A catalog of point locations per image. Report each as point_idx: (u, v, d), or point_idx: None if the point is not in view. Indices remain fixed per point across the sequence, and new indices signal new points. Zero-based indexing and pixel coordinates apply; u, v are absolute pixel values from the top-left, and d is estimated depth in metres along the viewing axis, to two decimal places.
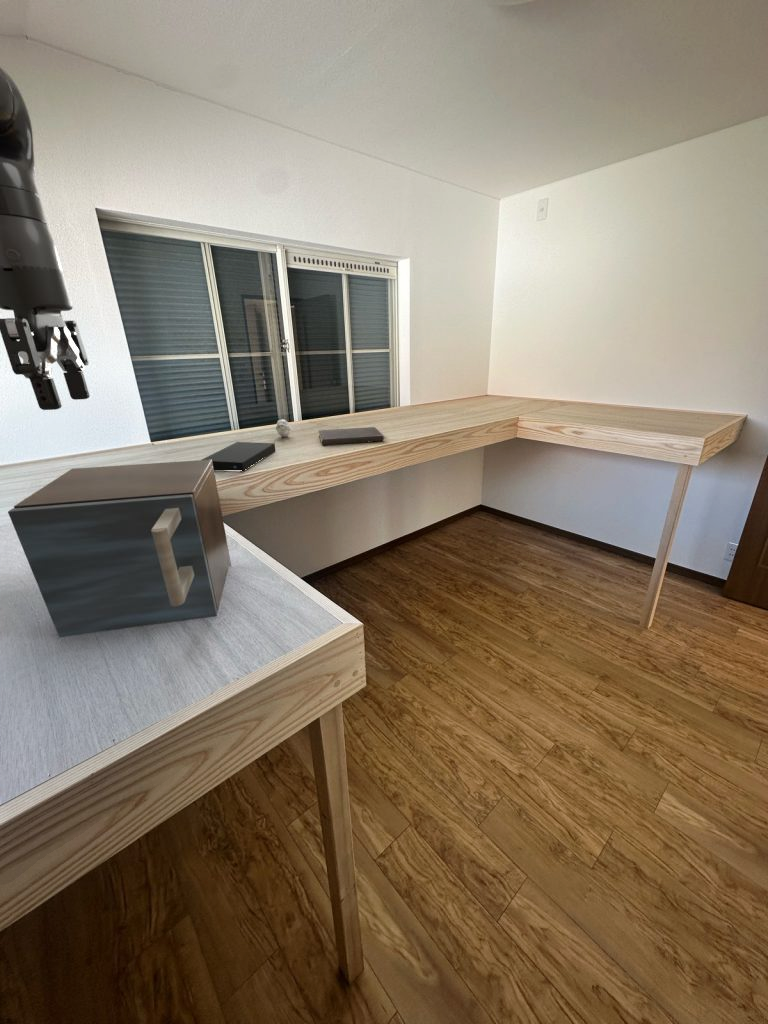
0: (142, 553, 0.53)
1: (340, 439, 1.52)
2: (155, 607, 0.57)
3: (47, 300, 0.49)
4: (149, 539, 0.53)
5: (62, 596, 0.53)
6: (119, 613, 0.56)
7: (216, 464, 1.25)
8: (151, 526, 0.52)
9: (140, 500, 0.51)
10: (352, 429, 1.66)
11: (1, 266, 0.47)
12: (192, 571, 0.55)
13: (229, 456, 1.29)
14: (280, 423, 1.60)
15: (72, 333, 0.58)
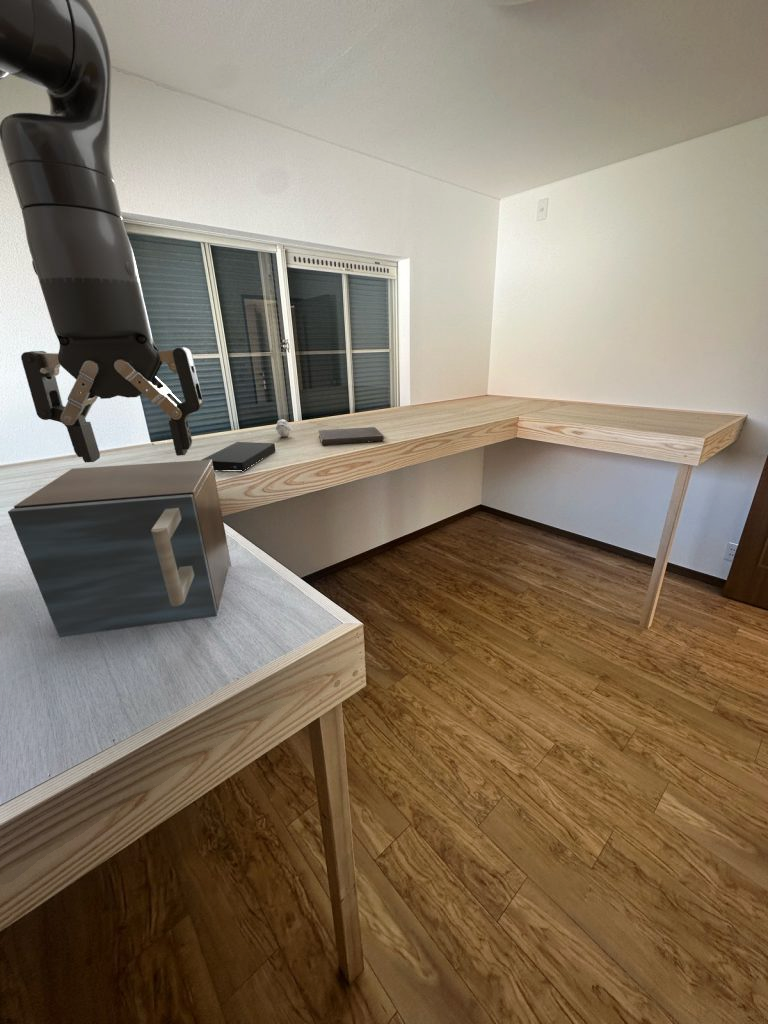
0: (142, 553, 0.53)
1: (340, 439, 1.52)
2: (155, 607, 0.57)
3: (56, 326, 0.35)
4: (149, 539, 0.53)
5: (62, 596, 0.53)
6: (119, 613, 0.56)
7: (216, 464, 1.25)
8: (151, 526, 0.52)
9: (140, 500, 0.51)
10: (352, 429, 1.66)
11: None
12: (192, 571, 0.55)
13: (229, 456, 1.29)
14: (280, 423, 1.60)
15: None
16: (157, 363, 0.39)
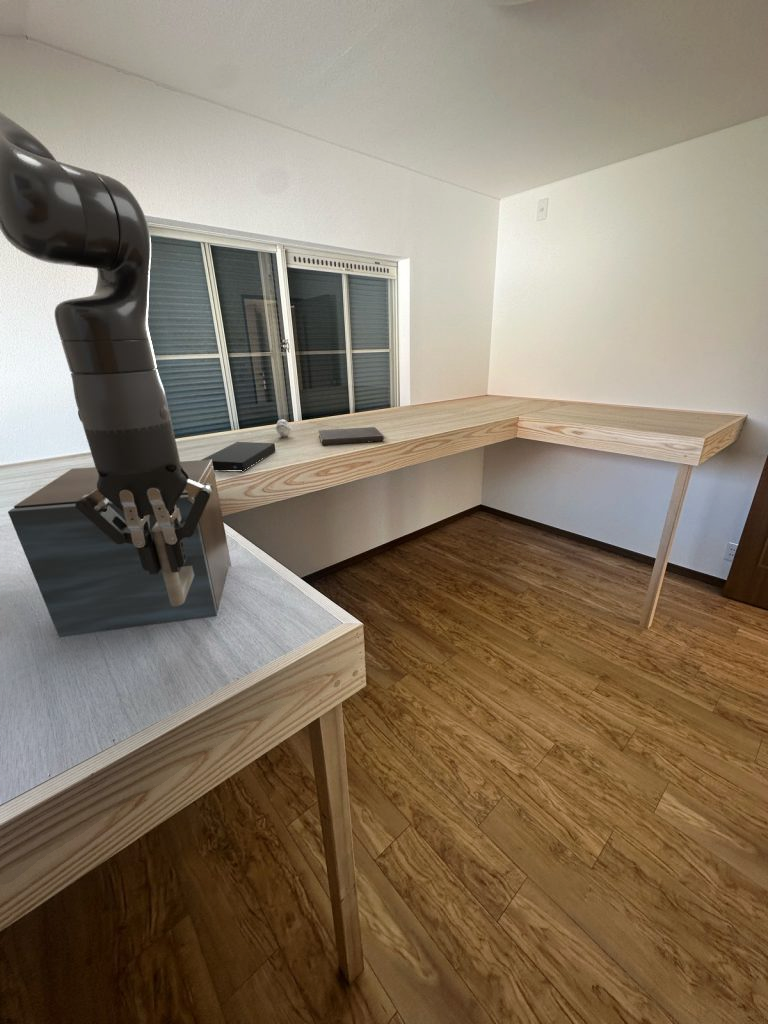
0: None
1: (340, 439, 1.52)
2: (155, 607, 0.57)
3: (97, 465, 0.39)
4: None
5: (62, 596, 0.53)
6: (119, 613, 0.56)
7: (216, 464, 1.25)
8: (151, 526, 0.52)
9: None
10: (352, 429, 1.66)
11: None
12: (192, 571, 0.55)
13: (229, 456, 1.29)
14: (280, 423, 1.60)
15: (191, 499, 0.44)
16: (184, 486, 0.44)
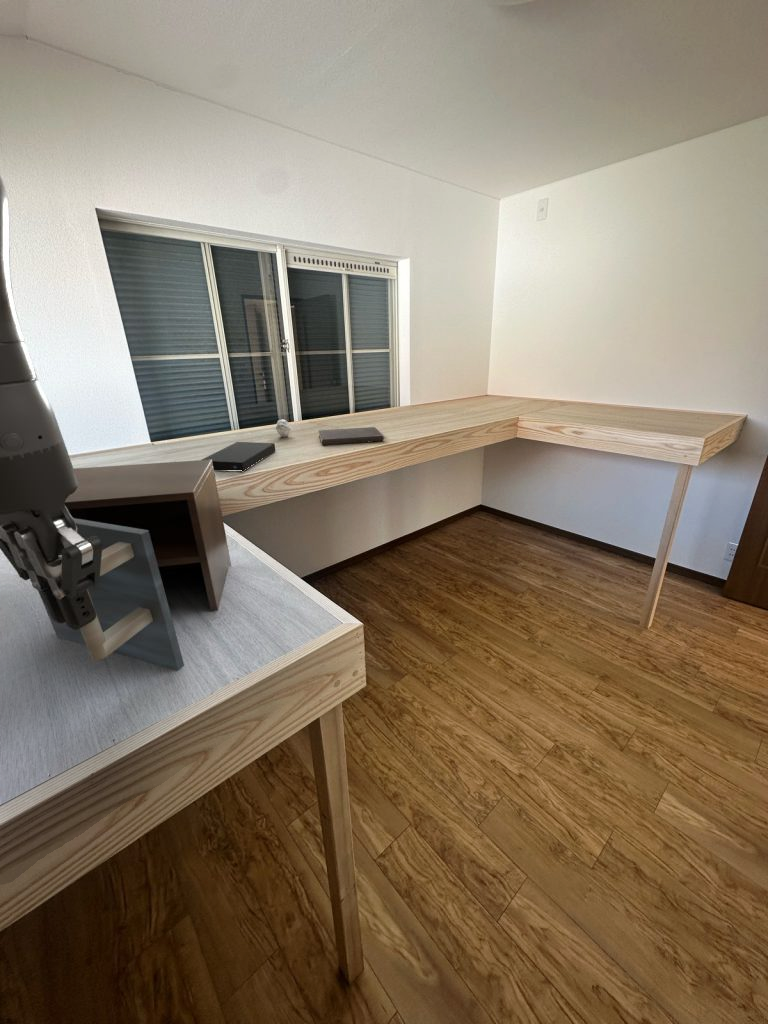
0: (106, 582, 0.47)
1: (340, 439, 1.52)
2: None
3: None
4: (110, 570, 0.46)
5: None
6: None
7: (216, 464, 1.25)
8: None
9: (98, 526, 0.44)
10: (352, 429, 1.66)
11: None
12: (148, 616, 0.47)
13: (229, 456, 1.29)
14: (280, 423, 1.60)
15: (61, 554, 0.33)
16: (54, 537, 0.33)
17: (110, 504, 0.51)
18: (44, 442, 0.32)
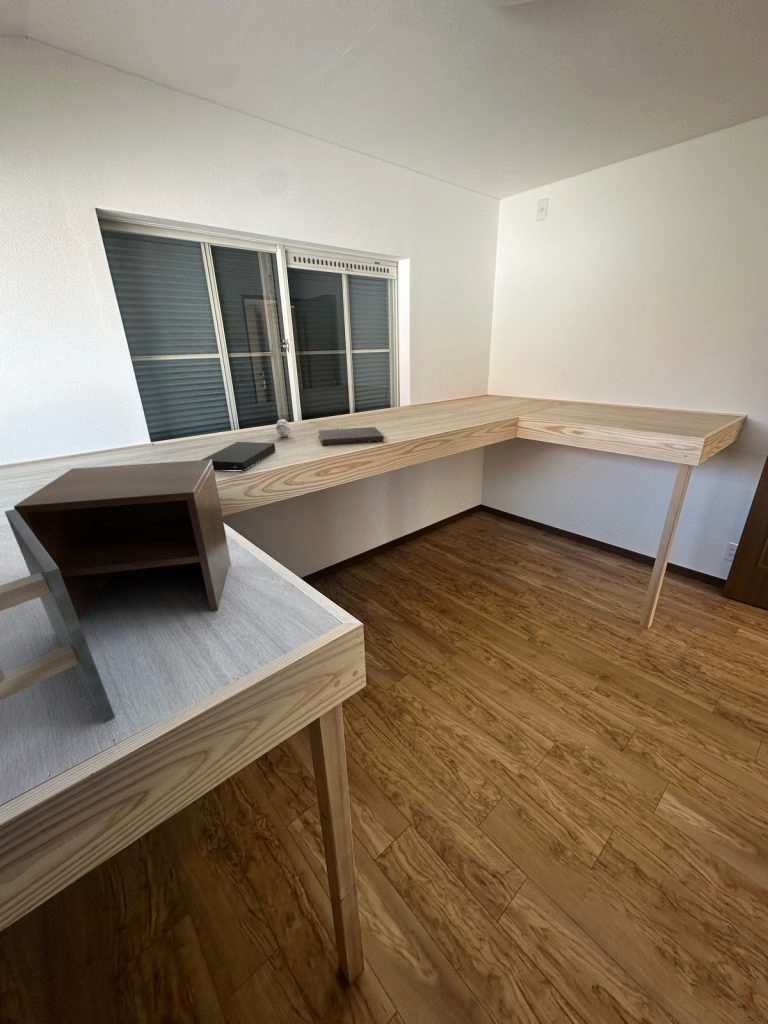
0: (51, 606, 0.43)
1: (340, 439, 1.52)
2: (76, 667, 0.47)
3: None
4: (48, 597, 0.42)
5: (44, 605, 0.52)
6: None
7: (216, 464, 1.25)
8: None
9: (32, 549, 0.39)
10: (352, 429, 1.66)
11: None
12: (70, 658, 0.41)
13: (229, 456, 1.29)
14: (280, 423, 1.60)
15: None
16: None
17: (110, 504, 0.51)
18: None
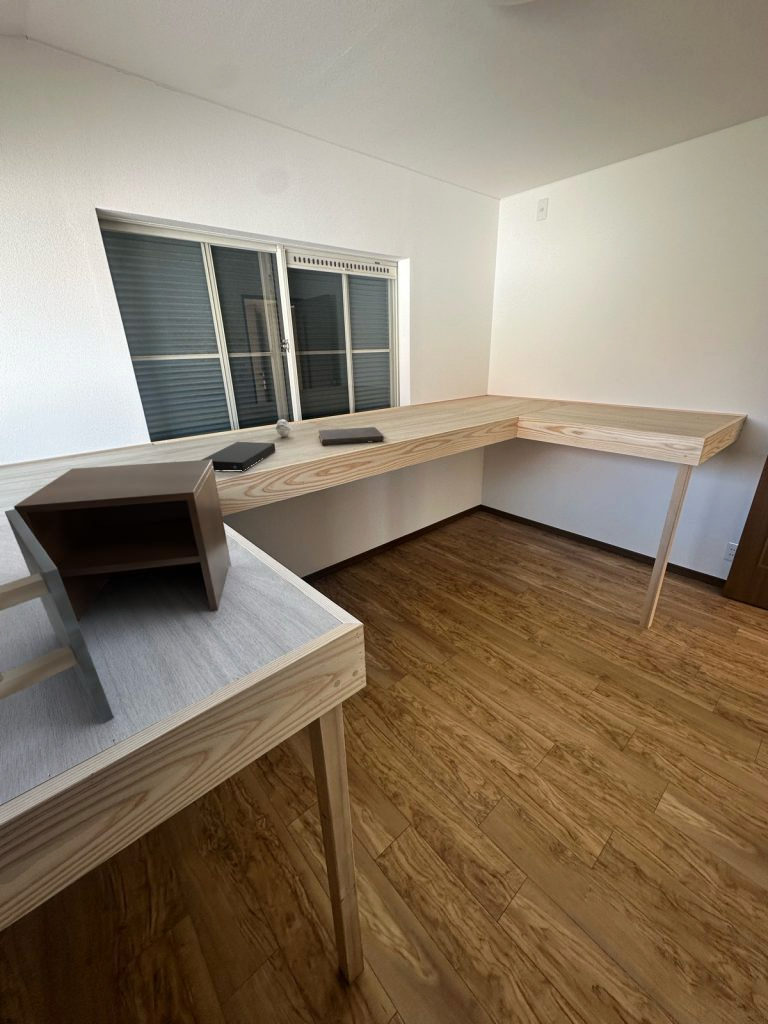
0: (51, 607, 0.43)
1: (340, 439, 1.52)
2: (75, 667, 0.47)
3: None
4: (48, 597, 0.41)
5: (44, 605, 0.52)
6: None
7: (216, 464, 1.25)
8: None
9: (31, 550, 0.39)
10: (352, 429, 1.66)
11: None
12: (69, 659, 0.41)
13: (229, 456, 1.29)
14: (280, 423, 1.60)
15: None
16: None
17: (110, 504, 0.51)
18: None
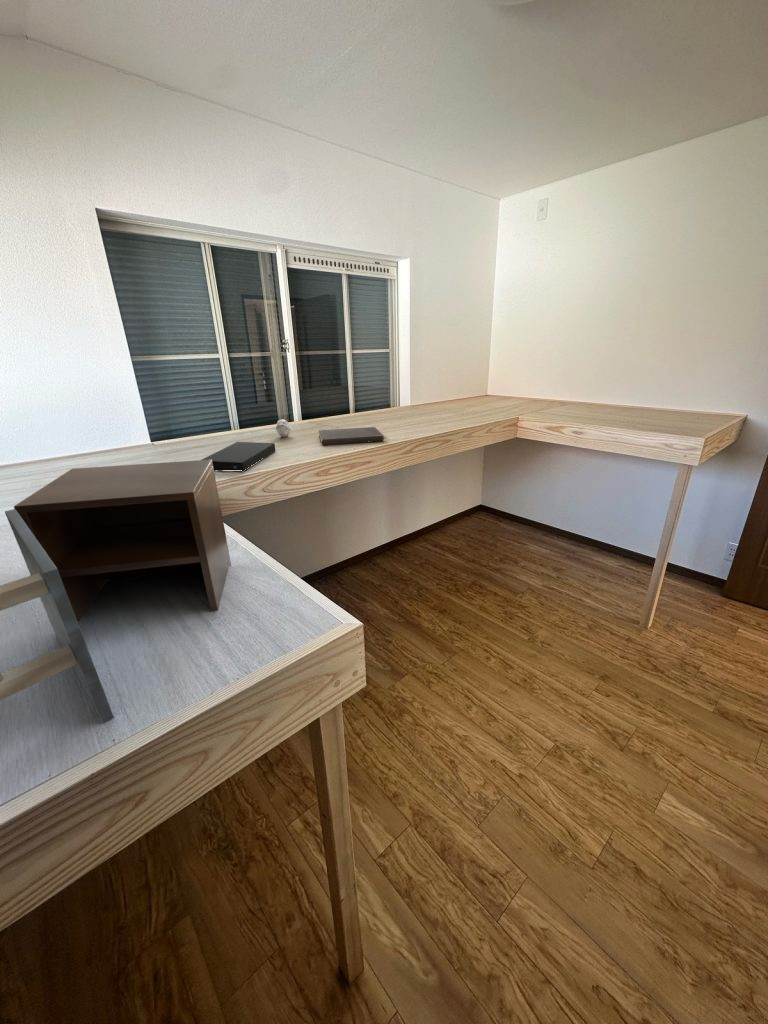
0: (51, 607, 0.43)
1: (340, 439, 1.52)
2: (75, 667, 0.47)
3: None
4: (48, 597, 0.41)
5: (44, 605, 0.52)
6: None
7: (216, 464, 1.25)
8: None
9: (31, 550, 0.39)
10: (352, 429, 1.66)
11: None
12: (69, 659, 0.41)
13: (229, 456, 1.29)
14: (280, 423, 1.60)
15: None
16: None
17: (110, 504, 0.51)
18: None
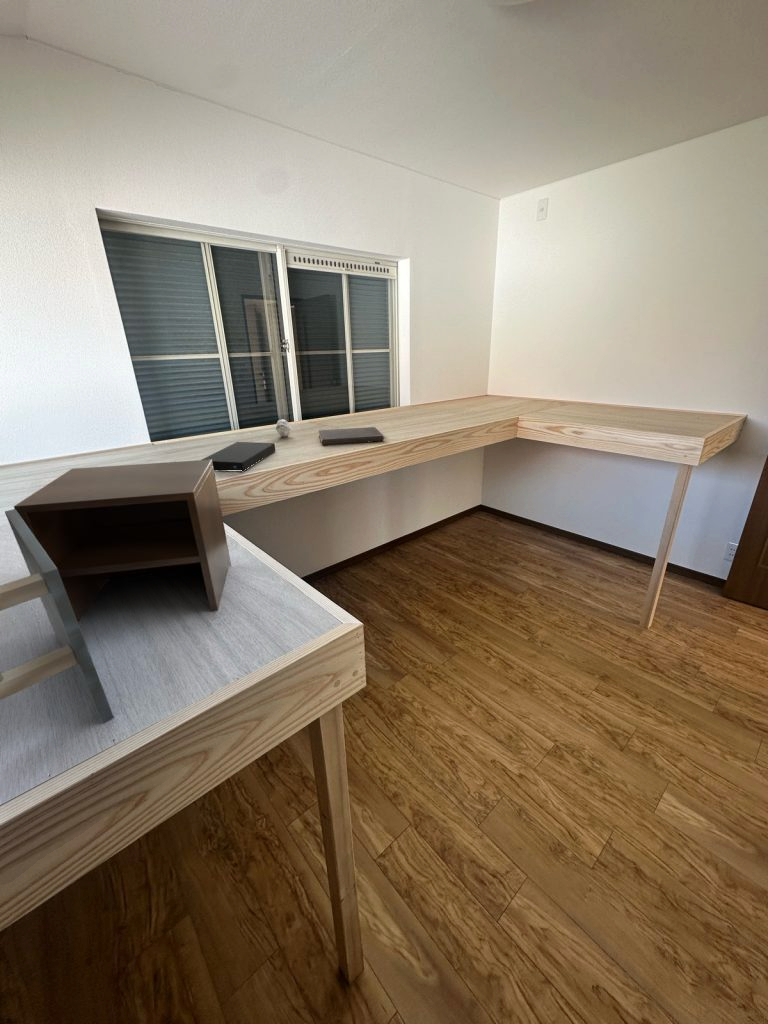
0: (51, 607, 0.43)
1: (340, 439, 1.52)
2: (75, 667, 0.47)
3: None
4: (48, 597, 0.41)
5: (44, 605, 0.52)
6: None
7: (216, 464, 1.25)
8: None
9: (31, 550, 0.39)
10: (352, 429, 1.66)
11: None
12: (69, 659, 0.41)
13: (229, 456, 1.29)
14: (280, 423, 1.60)
15: None
16: None
17: (110, 504, 0.51)
18: None
